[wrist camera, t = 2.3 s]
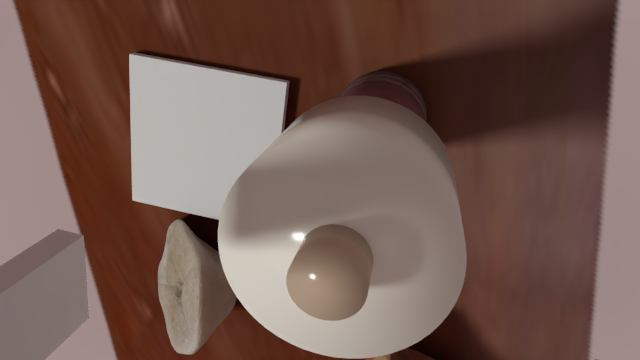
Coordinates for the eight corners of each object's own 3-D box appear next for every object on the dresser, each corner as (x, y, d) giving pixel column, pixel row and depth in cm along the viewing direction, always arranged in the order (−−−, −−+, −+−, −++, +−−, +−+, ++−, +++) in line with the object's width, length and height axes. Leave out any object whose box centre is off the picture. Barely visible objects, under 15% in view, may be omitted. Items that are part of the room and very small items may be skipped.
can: (448, 118, 33) (463, 200, 20) (375, 170, 35) (347, 272, 22) (393, 48, 32) (373, 86, 19) (322, 106, 34) (262, 174, 21)
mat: (135, 52, 35) (129, 53, 35) (289, 80, 34) (286, 82, 33) (137, 196, 40) (132, 200, 39) (273, 226, 39) (270, 231, 38)
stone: (145, 226, 43) (126, 229, 33) (221, 210, 44) (224, 208, 35) (169, 340, 43) (156, 378, 33) (244, 320, 44) (254, 350, 34)
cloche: (280, 79, 20) (201, 128, 13) (477, 115, 19) (509, 189, 12) (263, 245, 23) (192, 357, 16) (430, 284, 22) (433, 422, 15)
